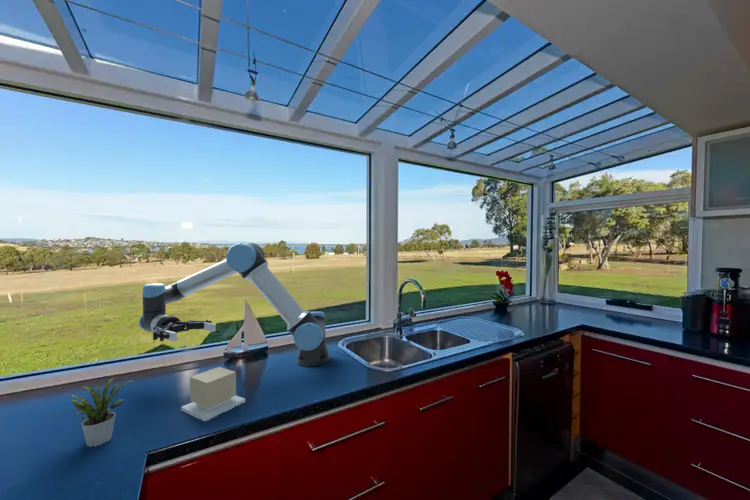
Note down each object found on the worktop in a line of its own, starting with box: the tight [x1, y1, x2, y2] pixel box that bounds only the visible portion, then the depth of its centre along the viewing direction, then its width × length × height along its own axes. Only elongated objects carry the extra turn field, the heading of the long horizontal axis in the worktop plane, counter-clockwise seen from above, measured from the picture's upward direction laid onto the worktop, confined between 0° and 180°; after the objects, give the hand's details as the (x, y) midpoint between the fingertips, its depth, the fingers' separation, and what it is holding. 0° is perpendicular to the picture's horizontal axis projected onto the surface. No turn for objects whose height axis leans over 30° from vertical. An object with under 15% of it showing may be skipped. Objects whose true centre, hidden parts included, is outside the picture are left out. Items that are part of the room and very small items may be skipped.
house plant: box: [70, 377, 134, 448], centre depth 87 cm, size 14×14×16 cm
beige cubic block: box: [189, 366, 237, 408], centre depth 104 cm, size 10×10×8 cm
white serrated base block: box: [180, 395, 246, 422], centre depth 104 cm, size 14×14×10 cm
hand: (196, 332), depth 109 cm, fingers open, 13 cm apart
